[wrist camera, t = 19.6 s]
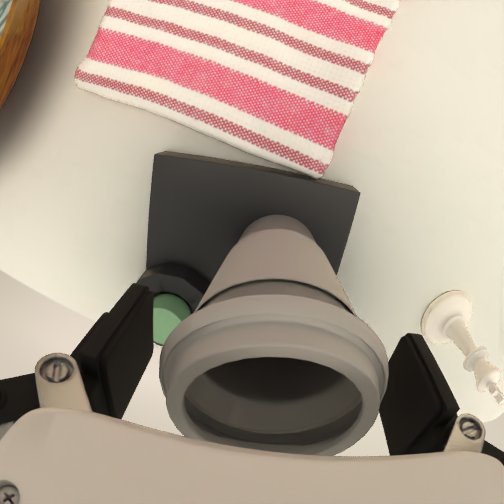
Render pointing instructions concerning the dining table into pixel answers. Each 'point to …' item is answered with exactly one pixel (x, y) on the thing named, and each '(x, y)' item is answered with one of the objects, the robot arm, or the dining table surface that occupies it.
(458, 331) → the chess piece
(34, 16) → the bowl
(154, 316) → the button
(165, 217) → the scale
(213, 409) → the cup
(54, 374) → the robot arm
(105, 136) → the dining table surface
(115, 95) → the dish towel
